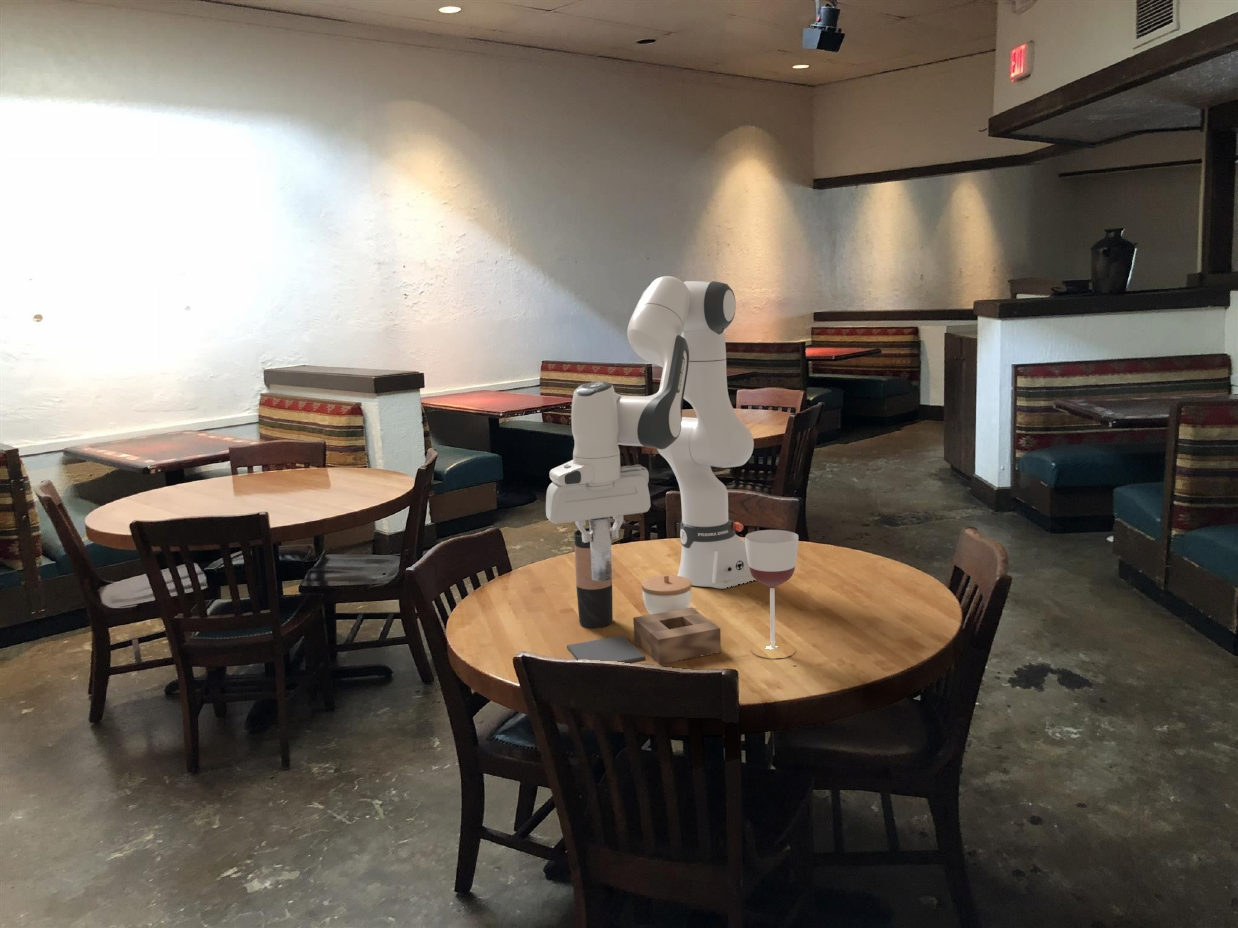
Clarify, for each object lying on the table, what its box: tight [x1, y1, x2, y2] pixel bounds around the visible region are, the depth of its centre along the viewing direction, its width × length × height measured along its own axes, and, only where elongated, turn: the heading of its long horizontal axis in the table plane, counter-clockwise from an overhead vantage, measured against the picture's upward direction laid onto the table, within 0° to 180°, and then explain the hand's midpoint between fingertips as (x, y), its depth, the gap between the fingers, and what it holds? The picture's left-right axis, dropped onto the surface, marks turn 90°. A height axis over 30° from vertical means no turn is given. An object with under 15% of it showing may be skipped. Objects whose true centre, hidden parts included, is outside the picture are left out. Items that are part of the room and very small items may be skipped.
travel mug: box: [573, 527, 614, 629], centre depth 199 cm, size 8×8×20 cm
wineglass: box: [744, 529, 799, 650], centre depth 179 cm, size 9×10×23 cm
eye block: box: [632, 607, 722, 665], centre depth 185 cm, size 13×13×5 cm
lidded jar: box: [641, 574, 693, 615], centre depth 201 cm, size 11×11×9 cm
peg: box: [588, 517, 614, 581], centre depth 179 cm, size 4×4×12 cm
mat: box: [566, 634, 646, 663], centre depth 184 cm, size 12×12×1 cm
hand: (600, 539), depth 179 cm, fingers closed on peg, 4 cm apart
